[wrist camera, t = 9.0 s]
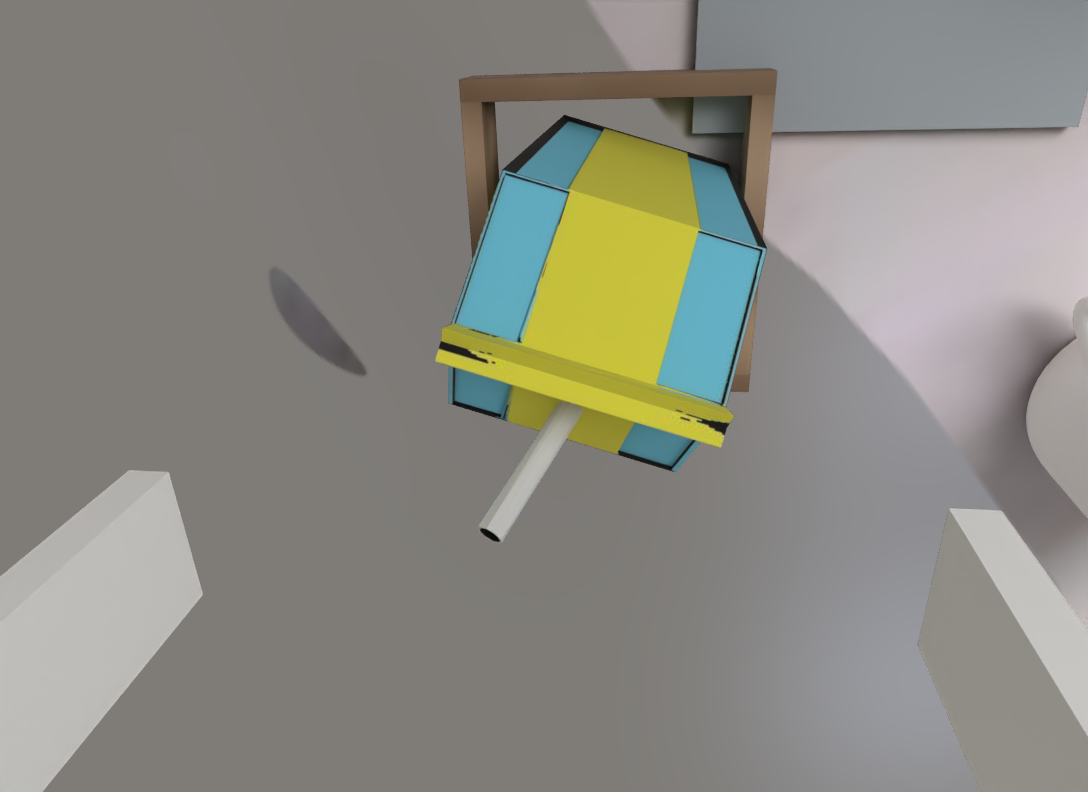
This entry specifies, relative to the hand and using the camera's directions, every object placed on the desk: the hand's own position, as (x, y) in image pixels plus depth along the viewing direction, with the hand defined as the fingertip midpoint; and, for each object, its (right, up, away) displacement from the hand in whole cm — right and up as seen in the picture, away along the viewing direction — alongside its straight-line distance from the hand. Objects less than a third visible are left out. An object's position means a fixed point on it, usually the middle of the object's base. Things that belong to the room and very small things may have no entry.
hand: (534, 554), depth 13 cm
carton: (+3, +10, +20) cm, 23 cm away
